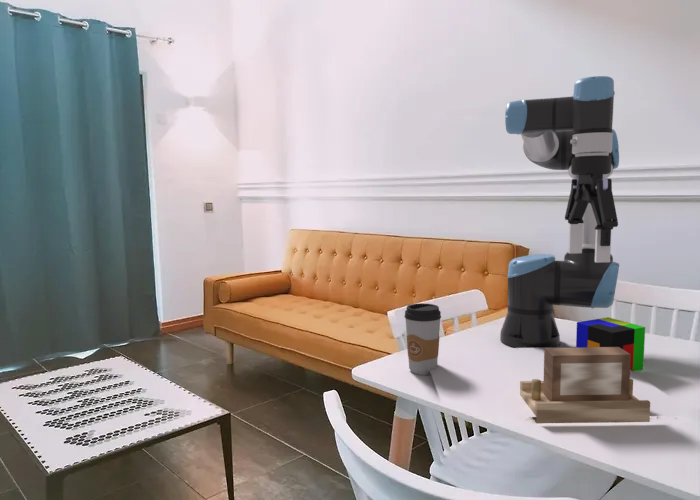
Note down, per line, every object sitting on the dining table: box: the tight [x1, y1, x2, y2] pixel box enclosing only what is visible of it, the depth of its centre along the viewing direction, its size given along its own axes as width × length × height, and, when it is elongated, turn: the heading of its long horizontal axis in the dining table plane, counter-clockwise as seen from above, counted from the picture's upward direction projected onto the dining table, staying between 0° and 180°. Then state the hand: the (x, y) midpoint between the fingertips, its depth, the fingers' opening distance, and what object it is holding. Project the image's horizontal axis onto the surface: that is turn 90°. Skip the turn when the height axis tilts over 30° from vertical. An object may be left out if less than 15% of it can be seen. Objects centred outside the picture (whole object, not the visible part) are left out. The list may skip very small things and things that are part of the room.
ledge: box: [519, 378, 651, 424], centre depth 101 cm, size 10×20×6 cm, turn 89°
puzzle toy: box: [575, 317, 646, 373], centre depth 124 cm, size 10×10×10 cm
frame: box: [543, 347, 631, 402], centre depth 100 cm, size 14×4×9 cm, turn 89°
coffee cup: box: [404, 302, 442, 376], centre depth 123 cm, size 8×8×15 cm
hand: (587, 257), depth 113 cm, fingers open, 13 cm apart
